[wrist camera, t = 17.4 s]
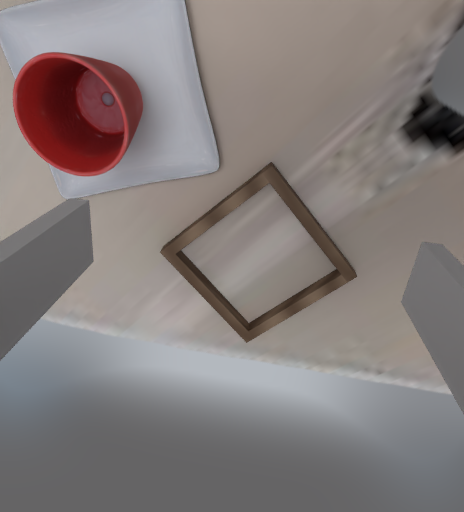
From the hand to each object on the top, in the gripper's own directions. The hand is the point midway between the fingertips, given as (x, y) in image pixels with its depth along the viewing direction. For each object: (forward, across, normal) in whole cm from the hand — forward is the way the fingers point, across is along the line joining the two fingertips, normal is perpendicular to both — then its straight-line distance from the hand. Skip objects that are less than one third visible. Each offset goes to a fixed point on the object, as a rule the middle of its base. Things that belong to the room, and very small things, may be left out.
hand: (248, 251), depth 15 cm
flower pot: (+31, -18, +2) cm, 36 cm away
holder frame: (+34, +1, -17) cm, 38 cm away
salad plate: (+35, -18, +2) cm, 39 cm away
